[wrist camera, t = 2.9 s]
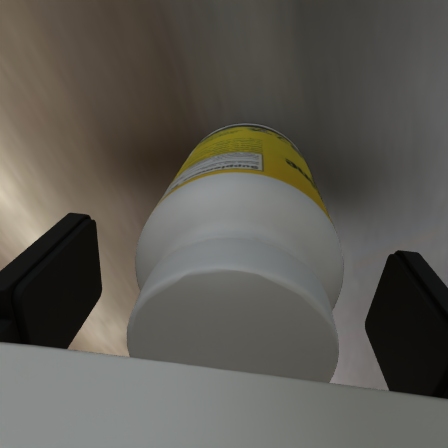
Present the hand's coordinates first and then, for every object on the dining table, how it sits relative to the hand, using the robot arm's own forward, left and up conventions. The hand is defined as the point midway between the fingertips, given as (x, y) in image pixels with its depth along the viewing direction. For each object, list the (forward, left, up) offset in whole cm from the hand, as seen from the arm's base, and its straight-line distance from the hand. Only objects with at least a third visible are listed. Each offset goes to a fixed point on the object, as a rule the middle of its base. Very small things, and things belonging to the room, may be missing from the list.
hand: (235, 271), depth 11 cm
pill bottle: (0, 0, -7) cm, 7 cm away
